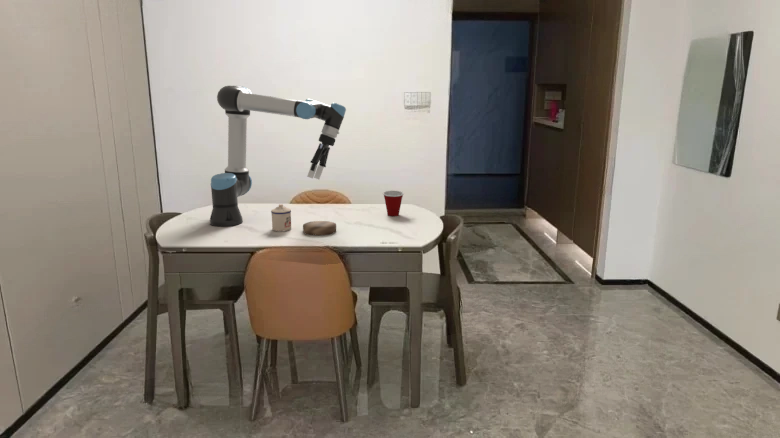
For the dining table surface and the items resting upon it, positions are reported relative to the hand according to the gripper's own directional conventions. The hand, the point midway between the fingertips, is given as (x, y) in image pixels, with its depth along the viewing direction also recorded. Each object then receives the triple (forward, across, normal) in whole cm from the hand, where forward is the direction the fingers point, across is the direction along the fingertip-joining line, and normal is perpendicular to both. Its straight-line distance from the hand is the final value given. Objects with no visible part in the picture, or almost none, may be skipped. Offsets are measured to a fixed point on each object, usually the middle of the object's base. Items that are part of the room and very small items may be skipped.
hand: (313, 178), depth 257 cm
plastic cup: (+5, +25, -40) cm, 48 cm away
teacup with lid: (+27, -7, +4) cm, 28 cm away
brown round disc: (+21, -11, -14) cm, 27 cm away
